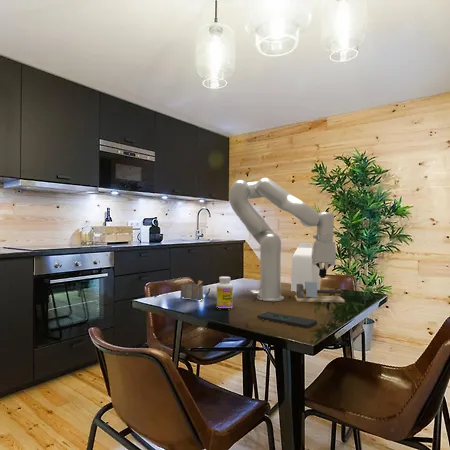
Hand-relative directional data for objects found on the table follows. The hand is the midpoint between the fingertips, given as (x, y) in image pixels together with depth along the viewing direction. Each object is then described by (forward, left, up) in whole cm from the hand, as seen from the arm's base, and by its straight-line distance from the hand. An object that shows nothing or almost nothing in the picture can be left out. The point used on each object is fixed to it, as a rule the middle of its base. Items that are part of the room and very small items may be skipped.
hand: (322, 277), depth 157 cm
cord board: (-2, 0, -10) cm, 11 cm away
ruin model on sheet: (-61, -5, -11) cm, 62 cm away
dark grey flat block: (-21, -39, -11) cm, 45 cm away
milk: (-4, +24, -11) cm, 27 cm away
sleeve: (-5, 0, -9) cm, 10 cm away
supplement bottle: (-44, -21, -11) cm, 50 cm away
